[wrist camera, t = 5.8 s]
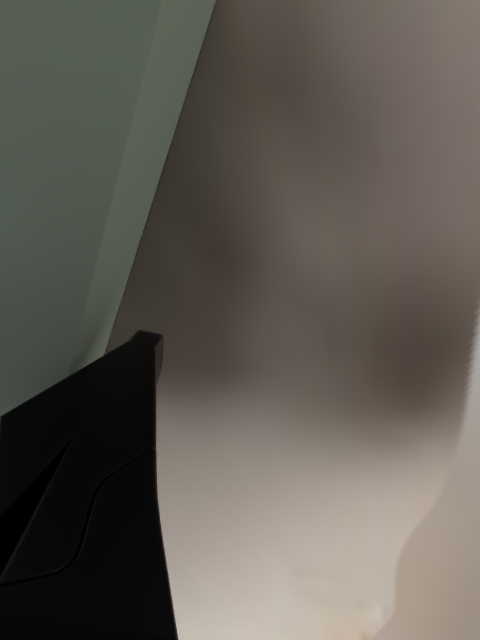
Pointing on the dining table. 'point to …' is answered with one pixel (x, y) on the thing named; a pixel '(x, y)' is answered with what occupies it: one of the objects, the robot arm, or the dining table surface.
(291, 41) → the dining table surface
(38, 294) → the leg bar
